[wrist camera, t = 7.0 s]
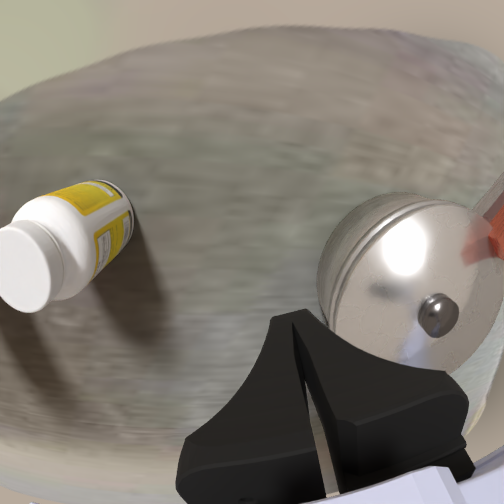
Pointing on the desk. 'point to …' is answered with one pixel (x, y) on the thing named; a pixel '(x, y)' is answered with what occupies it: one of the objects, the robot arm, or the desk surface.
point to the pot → (368, 224)
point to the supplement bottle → (62, 243)
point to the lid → (425, 287)
